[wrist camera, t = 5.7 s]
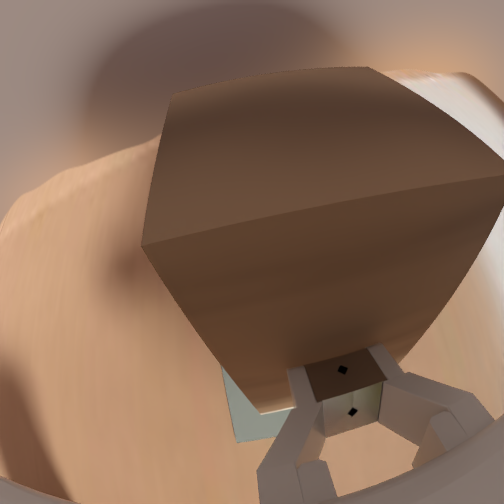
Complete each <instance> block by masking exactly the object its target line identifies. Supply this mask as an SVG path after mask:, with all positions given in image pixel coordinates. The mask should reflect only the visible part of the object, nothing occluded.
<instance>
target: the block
mask: <svg viewBox="0 0 504 504" xmlns="http://www.w3.org/2000/svg"><path fill="white" fill-rule="evenodd" d="M503 206H504V160H503V159H502V158H501V157H500V156H499V155H498V154H497V153H495V152H494V151H493V150H492V149H491V148H490V147H489V146H488V145H486V144H485V143H484V142H483V141H482V140H480V139H479V138H478V137H477V136H476V135H474V134H473V133H472V132H471V131H469V130H468V129H467V128H465V127H464V126H463V125H462V124H460V123H459V122H458V121H456V120H455V119H454V118H452V117H451V116H449V115H448V114H447V113H445V112H444V111H442V110H441V109H439V108H438V107H436V106H435V105H433V104H432V103H430V102H429V101H427V100H426V99H424V98H423V97H421V96H420V95H418V94H416V93H415V92H413V91H411V90H410V89H408V88H406V87H405V86H403V85H401V84H399V83H398V82H396V81H394V80H392V79H390V78H389V77H387V76H385V75H383V74H381V73H379V72H377V71H375V70H373V69H371V68H369V67H334V68H317V69H304V70H294V71H285V72H277V73H270V74H263V75H256V76H250V77H244V78H239V79H233V80H229V81H223V82H219V83H214V84H209V85H205V86H201V87H197V88H193V89H189V90H185V91H182V92H178V93H174V94H173V95H172V98H171V101H170V105H169V109H168V112H167V116H166V120H165V124H164V128H163V132H162V136H161V140H160V144H159V149H158V153H157V158H156V162H155V167H154V172H153V177H152V182H151V187H150V193H149V198H148V204H147V210H146V216H145V222H144V229H143V236H142V243H141V247H142V248H143V250H144V252H145V253H146V255H147V257H148V258H149V260H150V262H151V263H152V265H153V266H154V268H155V270H156V271H157V273H158V274H159V276H160V278H161V279H162V281H163V282H164V284H165V285H166V287H167V288H168V290H169V292H170V293H171V295H172V296H173V298H174V299H175V301H176V302H177V304H178V305H179V307H180V308H181V310H182V311H183V313H184V314H185V315H186V317H187V318H188V320H189V321H190V323H191V324H192V326H193V327H194V328H195V330H196V331H197V333H198V334H199V336H200V337H201V338H202V340H203V341H204V342H205V344H206V345H207V347H208V348H209V349H210V351H211V352H212V353H213V355H214V356H215V357H216V359H217V360H218V361H219V363H220V364H221V365H222V367H223V368H224V369H225V371H226V372H227V373H228V375H229V376H230V377H231V378H232V380H233V381H234V382H235V384H236V385H237V386H238V387H239V389H240V390H241V391H242V392H243V394H244V395H245V396H246V397H247V399H248V400H249V401H250V402H251V404H252V405H253V406H254V407H255V408H256V410H257V411H258V412H259V413H260V414H261V415H263V414H268V413H273V412H278V411H283V410H288V409H292V408H294V406H293V401H292V396H291V391H290V386H289V381H288V376H287V369H289V368H293V367H298V366H303V365H305V364H310V363H314V362H318V361H322V360H326V359H330V358H334V357H337V356H340V355H344V354H347V353H350V352H353V351H357V350H360V349H363V348H365V347H368V346H371V345H374V344H377V343H379V342H380V343H382V344H383V345H384V347H385V348H386V349H387V351H388V352H389V353H390V355H391V356H392V357H393V359H394V360H395V361H396V363H397V364H399V362H400V361H401V360H402V359H403V358H404V357H405V356H406V355H407V353H408V352H409V351H410V350H411V349H412V348H413V346H414V345H415V344H416V343H417V342H418V340H419V339H420V338H421V337H422V335H423V334H424V333H425V332H426V330H427V329H428V328H429V327H430V325H431V324H432V323H433V321H434V320H435V319H436V317H437V316H438V315H439V313H440V312H441V311H442V309H443V308H444V307H445V305H446V304H447V302H448V301H449V300H450V298H451V297H452V295H453V294H454V292H455V291H456V289H457V288H458V286H459V285H460V283H461V282H462V280H463V279H464V277H465V276H466V274H467V272H468V271H469V269H470V268H471V266H472V264H473V263H474V261H475V259H476V258H477V256H478V254H479V252H480V251H481V249H482V247H483V245H484V244H485V242H486V240H487V238H488V236H489V234H490V232H491V230H492V229H493V227H494V225H495V223H496V221H497V219H498V217H499V214H500V212H501V210H502V208H503Z"/></svg>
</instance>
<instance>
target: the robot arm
mask: <svg viewBox="0 0 504 504" xmlns="http://www.w3.org/2000/svg"><path fill="white" fill-rule="evenodd" d="M287 376H288V381H289V386H290V391H291V396H292V401H293V406H294V409H291V411H290V413H289V415H288V417H287V419H286V421H285V422H284V424H283V426H282V428H281V430H280V431H279V433H278V435H277V437H276V439H275V440H274V442H273V444H272V446H271V447H270V449H269V451H268V453H267V454H266V456H265V458H264V459H263V461H262V463H261V464H260V466H259V467H258V469H257V480H258V490H259V499H260V504H504V414H503V415H502V416H500V417H499V418H498V419H496V420H494V419H493V417H492V416H491V415H490V414H489V413H488V411H487V410H486V409H485V408H484V406H483V405H482V404H481V403H480V402H479V400H478V399H477V398H476V397H475V396H474V394H473V393H470V392H467V391H463V390H460V389H457V388H454V387H451V386H448V385H445V384H442V383H439V382H436V381H433V380H430V379H427V378H425V377H422V376H419V375H416V374H413V373H410V372H407V373H404V372H403V371H402V369H401V368H400V367H399V365H398V364H397V363H396V361H395V360H394V359H393V357H392V356H391V355H390V353H389V352H388V351H387V349H386V348H385V347H384V345H383V344H382V343H380V342H379V343H377V344H374V345H371V346H368V347H365V348H363V349H360V350H357V351H353V352H350V353H347V354H344V355H340V356H337V357H334V358H330V359H326V360H322V361H318V362H314V363H310V364H305V365H303V366H298V367H293V368H289V369H287ZM376 421H378V422H379V423H380V424H382V425H384V426H385V427H387V428H389V429H390V430H392V431H394V432H395V433H397V434H399V435H400V436H402V437H404V438H405V439H407V440H409V441H411V442H412V443H414V444H416V445H417V446H419V449H418V452H417V454H416V456H415V458H414V460H413V463H412V466H413V468H414V469H412V470H410V471H408V472H406V473H403V474H401V475H399V476H396V477H394V478H392V479H389V480H387V481H384V482H382V483H379V484H377V485H374V486H371V487H368V488H366V489H363V490H360V491H357V492H354V493H351V494H347V495H344V496H341V497H337V494H336V491H335V488H334V485H333V482H332V479H331V476H330V472H329V469H328V466H327V463H326V462H325V461H322V460H320V459H319V456H320V453H321V451H322V448H323V445H324V442H325V438H327V437H330V436H333V435H337V434H340V433H343V432H346V431H349V430H351V429H355V428H358V427H361V426H364V425H367V424H370V423H373V422H376ZM0 504H80V503H76V502H73V501H69V500H65V499H62V498H58V497H55V496H52V495H49V494H46V493H43V492H40V491H37V490H34V489H32V488H29V487H26V486H24V485H21V484H19V483H16V482H14V481H12V480H10V479H7V478H5V477H2V476H0Z"/></svg>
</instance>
